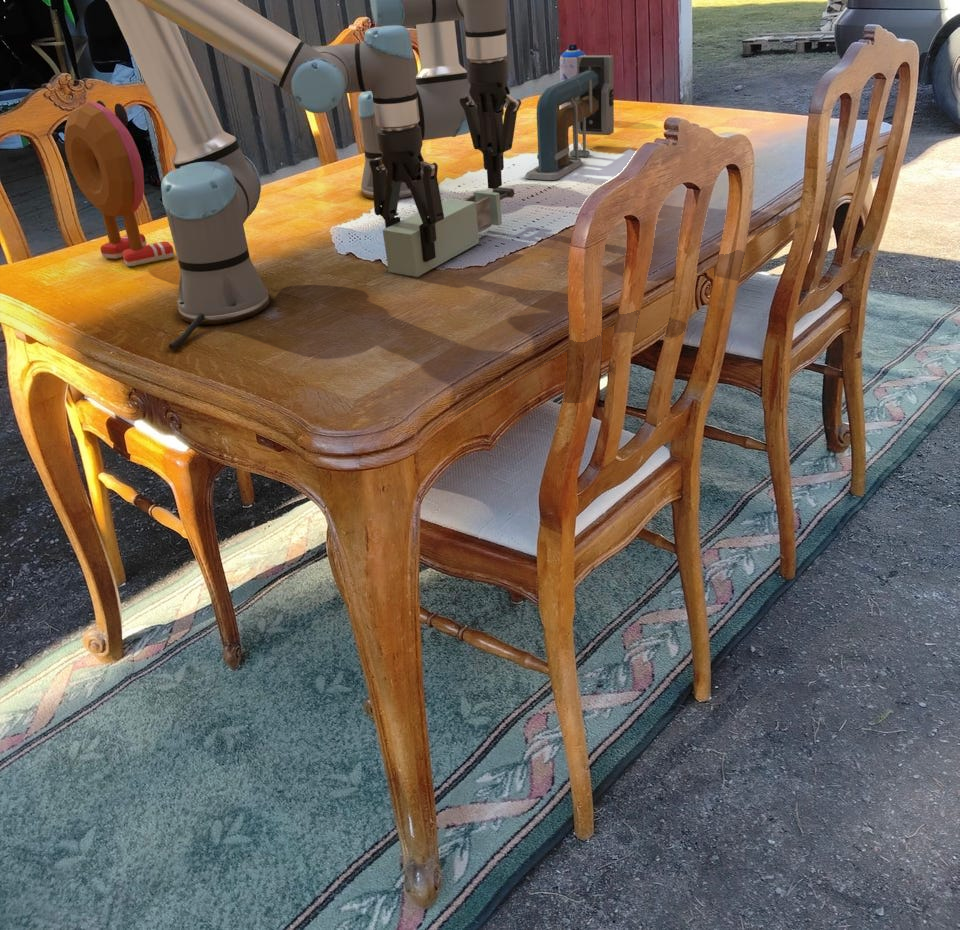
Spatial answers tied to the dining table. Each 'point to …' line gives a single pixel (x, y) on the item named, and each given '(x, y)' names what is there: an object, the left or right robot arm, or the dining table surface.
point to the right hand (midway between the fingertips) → (495, 186)
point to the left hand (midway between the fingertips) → (413, 256)
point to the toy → (111, 178)
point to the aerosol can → (569, 65)
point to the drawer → (489, 206)
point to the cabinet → (451, 240)
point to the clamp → (574, 116)
